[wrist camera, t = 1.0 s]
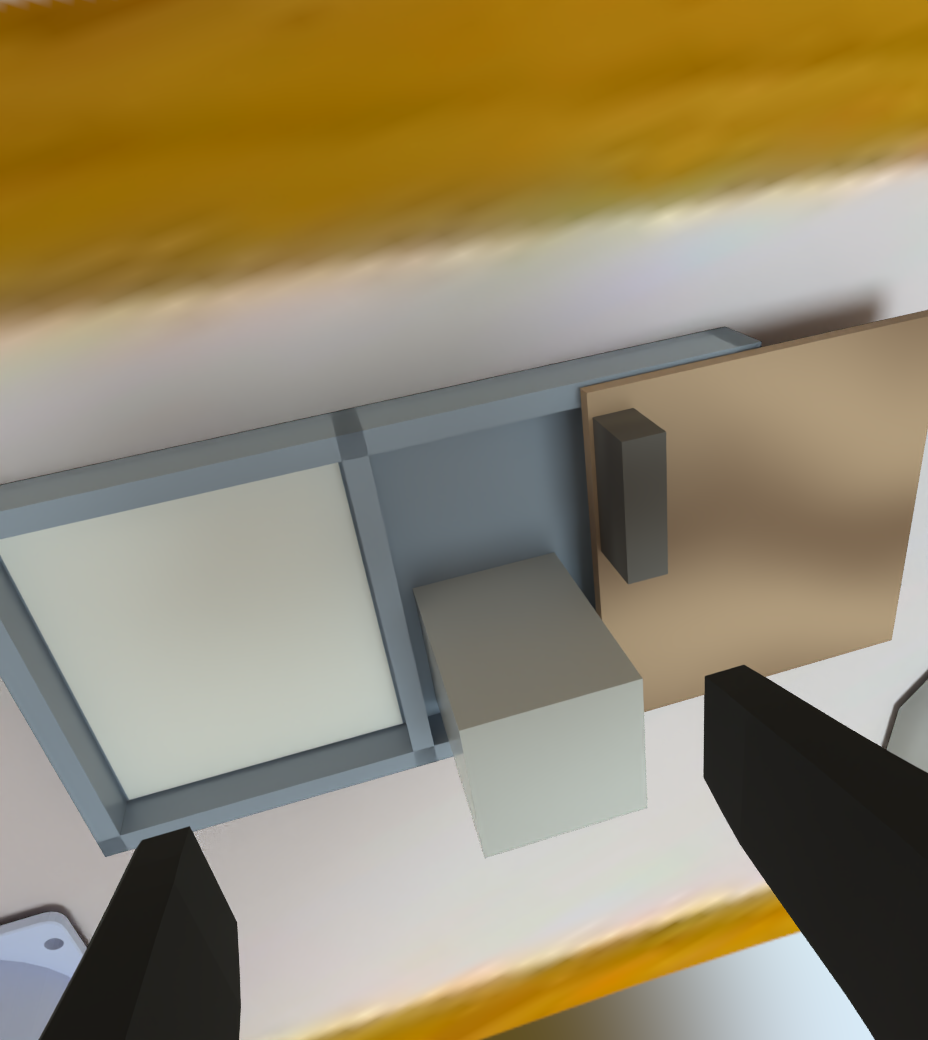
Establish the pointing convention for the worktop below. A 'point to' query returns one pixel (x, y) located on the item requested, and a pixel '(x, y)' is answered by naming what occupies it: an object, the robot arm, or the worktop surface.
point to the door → (756, 503)
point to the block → (533, 702)
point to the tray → (282, 590)
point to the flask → (912, 730)
